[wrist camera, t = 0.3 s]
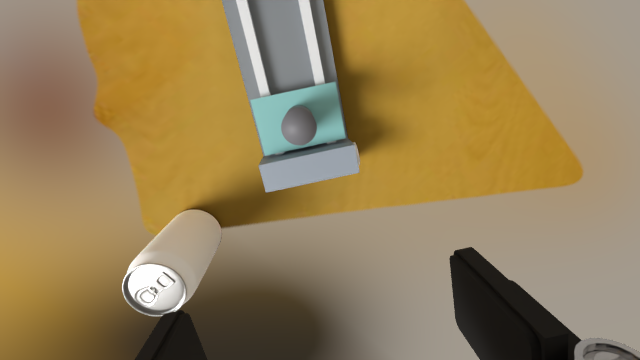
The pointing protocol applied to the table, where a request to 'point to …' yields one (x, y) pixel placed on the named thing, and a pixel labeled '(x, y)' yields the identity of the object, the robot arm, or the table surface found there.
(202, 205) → the table surface
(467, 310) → the robot arm
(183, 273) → the can
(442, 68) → the table surface
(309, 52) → the rail track
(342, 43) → the table surface
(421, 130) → the table surface
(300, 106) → the carriage
